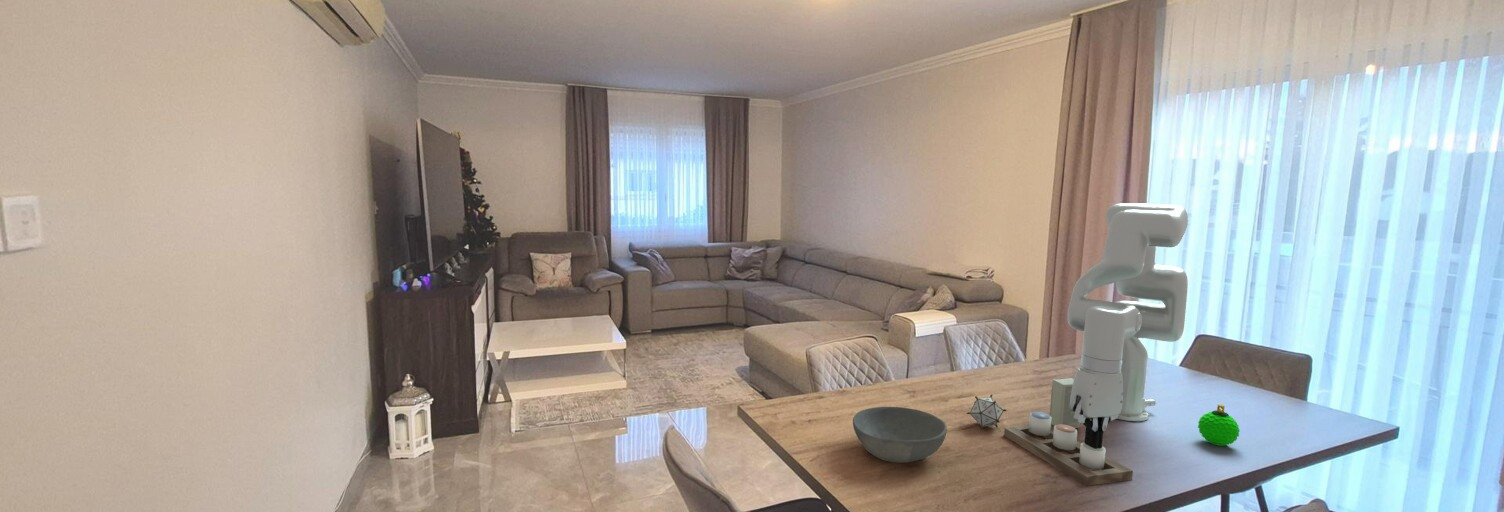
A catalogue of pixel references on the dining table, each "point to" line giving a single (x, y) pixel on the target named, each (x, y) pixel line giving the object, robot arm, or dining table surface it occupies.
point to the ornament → (1218, 427)
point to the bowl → (899, 433)
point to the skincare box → (1062, 403)
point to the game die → (986, 411)
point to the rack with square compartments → (1068, 458)
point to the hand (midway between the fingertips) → (1093, 445)
